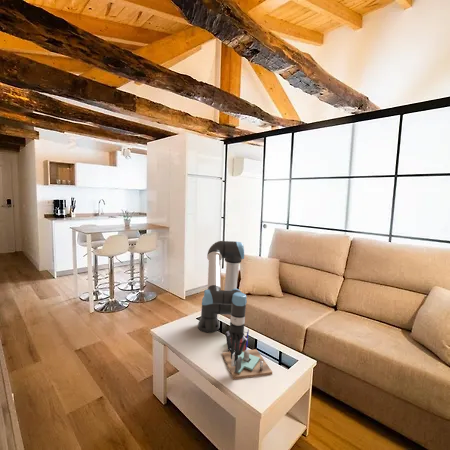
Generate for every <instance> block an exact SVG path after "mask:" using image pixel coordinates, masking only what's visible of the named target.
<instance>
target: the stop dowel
mask: <svg viewBox="0 0 450 450" xmlns="http://www.w3.org/2000/svg"><path fill="white" fill-rule="evenodd" d="M260 371H263V361H260Z"/></svg>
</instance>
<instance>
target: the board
mask: <svg viewBox="0 0 450 450" xmlns="http://www.w3.org/2000/svg"><path fill="white" fill-rule="evenodd" d="M242 352H244V359H243V360H242V361H245V362H247V363H249V361H250V360H249V354H251V355H253V356H256V357H259V358H260V360H259V361H258V363H257V364H256V366H255V367H254V369H253V370H252V371H251V370H249V369H246V368H244V369H243V370H242V371H241V373H240V374H239V373H236V372H235V366H234V367H232V366H231V365H232V359H231V352H230V351H224V352H222V353H221V354H222V357H223V360H224V361H225V363H226V366H227V369H228V370H229V373H230V376H231V377H232V380H240V379H246V378H253V377H262V376H268V375H273V371H272V370H271V368H270V367H269V365H268V363H267V362H266V361H265V359H264V358H263V356H262V355H261V354H260V352H259V351H258V350H257V348H255V349H248V350H247V349H246V350H244V351H242ZM260 361H263V371H260Z"/></svg>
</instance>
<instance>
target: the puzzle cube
mask: <svg viewBox="0 0 450 450" xmlns="http://www.w3.org/2000/svg"><path fill="white" fill-rule="evenodd" d="M244 336H245V338H248V340H247V341H246V343H245V346H244V348H243V351H244V350H247V349H248V345H249V343H248V342H249V328H245V327H244ZM242 339H243V338H242ZM242 339H241V340H240V346H239V349H240V347H241V344H242V342H243V341H242ZM231 342H232V341H231ZM235 346H236V343H235Z"/></svg>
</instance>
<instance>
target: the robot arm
mask: <svg viewBox="0 0 450 450" xmlns="http://www.w3.org/2000/svg"><path fill="white" fill-rule="evenodd" d="M243 243H244V242H241V241H230V240H229V241H228V240H218V241H215V242H214V243H213V244H212V245H211V246H210V247H209V249H208V250H207V257H206V258H207V260H208V268H207V269H208V271H207V289H205V290H204V291H203V293H204V294H203V297H202V300H201V310H200V311H201V312H200V313H201V315H200V318H199V321H198V324H197V328H198V330H199V331H201V332H203V333H215V332H217V331H218V330H219V329H220V322H219V319H218V315H223V316H224V315H225V316H227V315H229V316H230V323H229V330H227V331H226V332H225V333H224V335H225V339H226V347H227V352H231V359H232V365H231V366H232V367H234V366H235V364H236V360H237V359H238V355H240V354H241V353H242V351H243V348H244V346H245V343H246V341H247V340H248V341H249V337H248V338H245V336H244V328H245V321H246V320H245V319H246V309H247V298H248V297H247V294H245V293H243V292H242V291H241V290H240V289H239V288H237V287H238V279H239V278H238V277H239V268H240V267H239V266H240V264H241V263H242V260H244V259H245V247H244V244H243ZM222 259H224V261H225V264H226V266H225V267H226V269H225V278H224V290H221V289H222V288H221V287H222V286H221V277H222V276H221V260H222ZM242 338H243V339H242ZM241 339H242V341H243V342H242V344H241V347H240V349H239V346H240V340H241ZM231 341H232V342H231ZM235 343H236V346H235Z"/></svg>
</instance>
